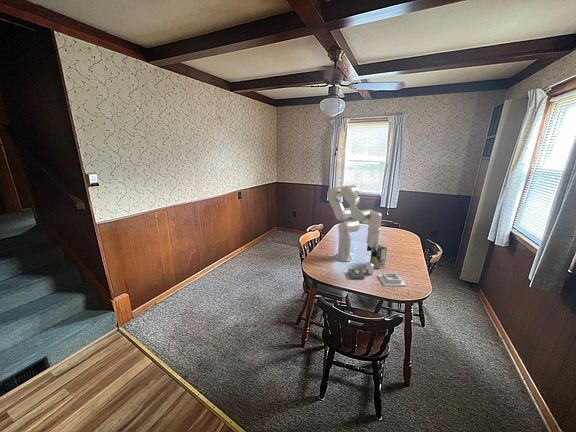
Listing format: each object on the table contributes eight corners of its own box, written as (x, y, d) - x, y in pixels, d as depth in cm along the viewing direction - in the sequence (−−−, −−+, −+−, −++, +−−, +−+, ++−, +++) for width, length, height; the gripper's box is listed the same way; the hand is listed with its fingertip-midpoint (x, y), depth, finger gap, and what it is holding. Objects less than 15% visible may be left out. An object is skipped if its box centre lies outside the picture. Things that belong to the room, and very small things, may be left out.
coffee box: (385, 267, 171) (387, 247, 166) (379, 269, 168) (381, 249, 163) (375, 262, 178) (377, 243, 174) (369, 264, 175) (371, 245, 171)
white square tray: (377, 276, 159) (378, 271, 158) (397, 276, 159) (398, 271, 158) (384, 286, 147) (384, 281, 146) (405, 286, 147) (406, 281, 146)
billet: (364, 272, 164) (365, 262, 162) (371, 272, 164) (372, 262, 162) (366, 275, 159) (367, 265, 157) (373, 275, 159) (374, 265, 157)
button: (352, 274, 161) (353, 269, 160) (357, 274, 161) (358, 269, 160) (354, 276, 157) (354, 272, 156) (359, 277, 157) (359, 272, 156)
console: (348, 272, 163) (348, 268, 163) (360, 272, 163) (361, 269, 162) (351, 279, 155) (351, 275, 154) (364, 279, 155) (364, 275, 154)
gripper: (364, 226, 161) (362, 248, 166) (372, 234, 144) (370, 259, 149) (375, 226, 161) (372, 248, 166) (384, 234, 144) (381, 259, 149)
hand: (371, 253), depth 157 cm, fingers open, 9 cm apart
